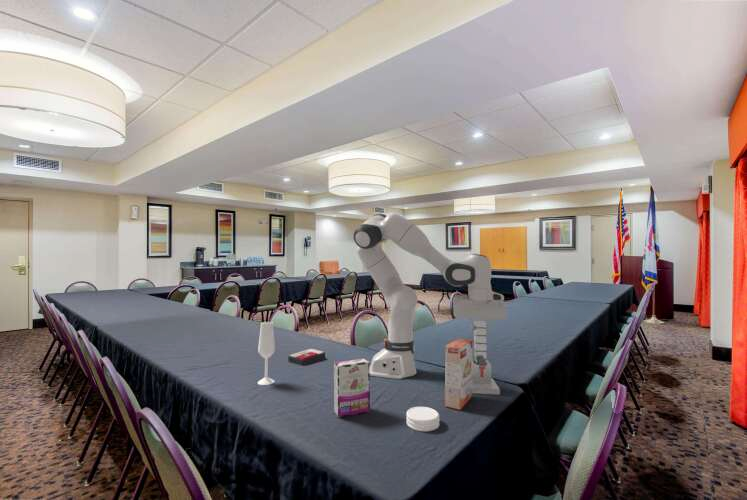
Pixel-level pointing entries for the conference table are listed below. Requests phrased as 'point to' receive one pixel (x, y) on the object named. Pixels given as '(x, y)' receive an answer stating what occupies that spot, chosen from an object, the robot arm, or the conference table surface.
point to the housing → (483, 378)
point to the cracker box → (458, 373)
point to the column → (479, 341)
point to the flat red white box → (306, 357)
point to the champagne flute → (266, 348)
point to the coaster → (422, 418)
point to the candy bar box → (351, 387)
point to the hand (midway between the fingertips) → (480, 330)
